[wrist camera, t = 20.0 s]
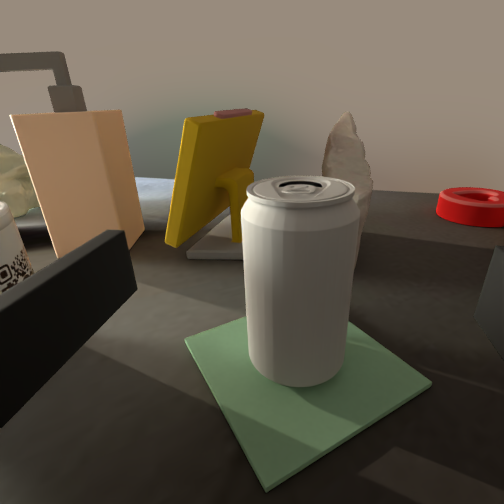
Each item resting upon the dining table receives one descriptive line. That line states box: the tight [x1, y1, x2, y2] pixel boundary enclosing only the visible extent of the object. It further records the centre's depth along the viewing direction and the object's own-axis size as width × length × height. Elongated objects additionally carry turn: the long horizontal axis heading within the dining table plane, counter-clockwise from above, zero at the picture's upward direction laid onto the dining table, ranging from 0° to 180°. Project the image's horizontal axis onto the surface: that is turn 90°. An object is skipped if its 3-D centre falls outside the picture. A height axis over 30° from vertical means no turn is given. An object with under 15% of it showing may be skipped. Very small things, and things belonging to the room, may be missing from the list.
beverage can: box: [241, 175, 360, 387], centre depth 19 cm, size 6×6×12 cm
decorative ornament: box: [436, 187, 504, 227], centre depth 46 cm, size 10×10×3 cm
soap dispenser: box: [0, 52, 145, 258], centre depth 38 cm, size 13×9×22 cm
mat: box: [185, 316, 432, 493], centre depth 22 cm, size 12×12×1 cm
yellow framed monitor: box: [165, 109, 264, 260], centre depth 39 cm, size 20×8×16 cm, turn 162°
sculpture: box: [322, 112, 373, 269], centre depth 35 cm, size 17×5×15 cm, turn 175°
